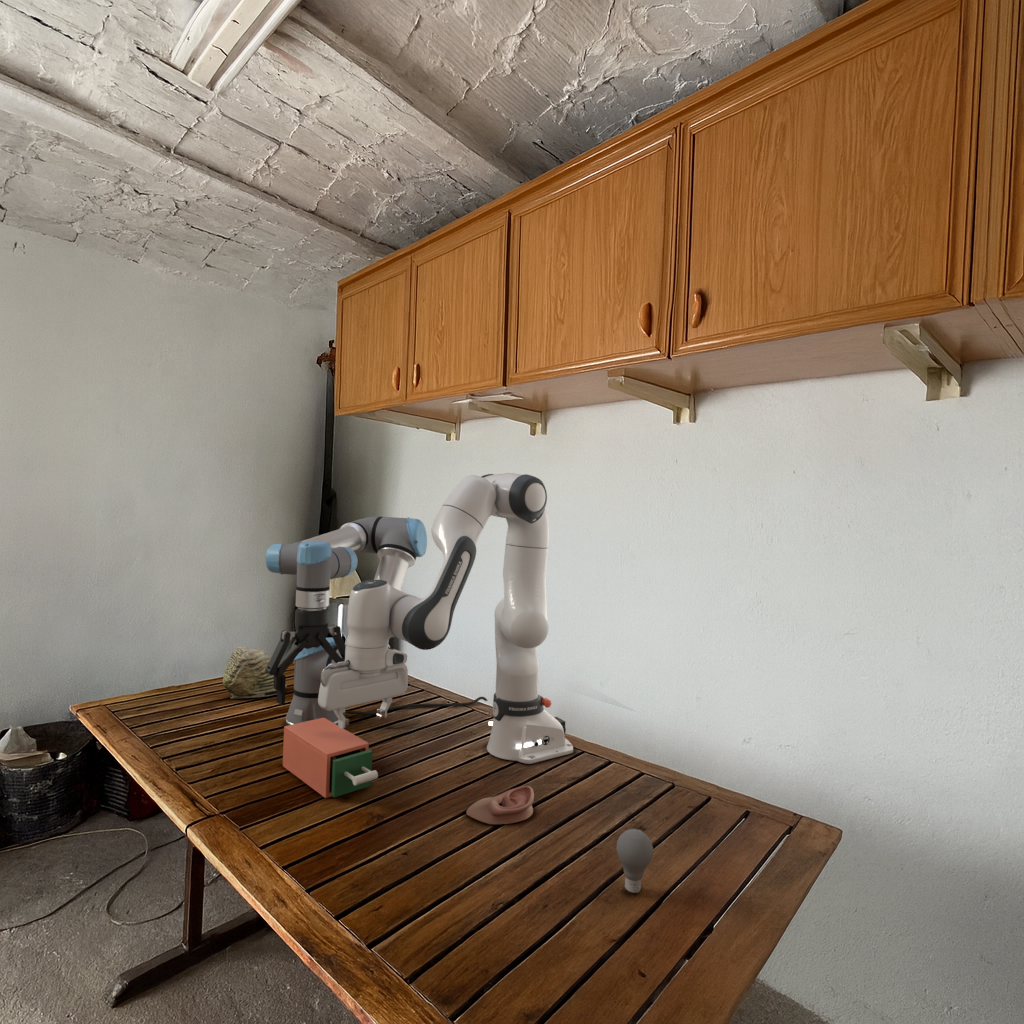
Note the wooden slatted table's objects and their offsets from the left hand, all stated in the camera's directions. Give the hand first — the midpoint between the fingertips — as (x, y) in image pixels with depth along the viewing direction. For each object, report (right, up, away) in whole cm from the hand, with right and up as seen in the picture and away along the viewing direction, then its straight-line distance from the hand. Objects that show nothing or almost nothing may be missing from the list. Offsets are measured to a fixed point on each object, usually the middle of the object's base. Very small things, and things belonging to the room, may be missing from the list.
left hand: (309, 698), depth 149 cm
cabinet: (+5, -16, -5) cm, 18 cm away
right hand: (+16, -1, -15) cm, 22 cm away
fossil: (-33, -14, +50) cm, 61 cm away
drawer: (+9, -16, -9) cm, 20 cm away
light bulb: (+68, -20, -43) cm, 83 cm away
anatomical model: (+45, -18, -18) cm, 52 cm away
